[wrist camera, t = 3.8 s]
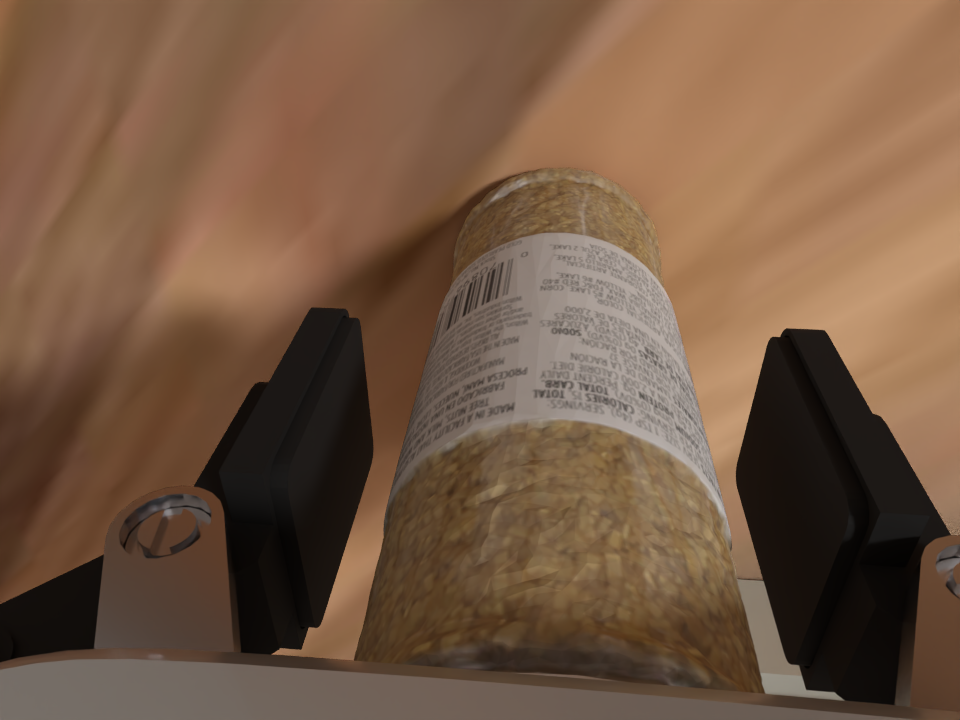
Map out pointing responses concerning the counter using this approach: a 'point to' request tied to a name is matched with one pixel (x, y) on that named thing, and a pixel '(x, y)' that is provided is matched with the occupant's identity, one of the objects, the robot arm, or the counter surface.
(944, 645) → the robot arm
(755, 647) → the tray
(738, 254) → the counter surface
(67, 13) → the counter surface
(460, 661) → the sprinkles bottle
